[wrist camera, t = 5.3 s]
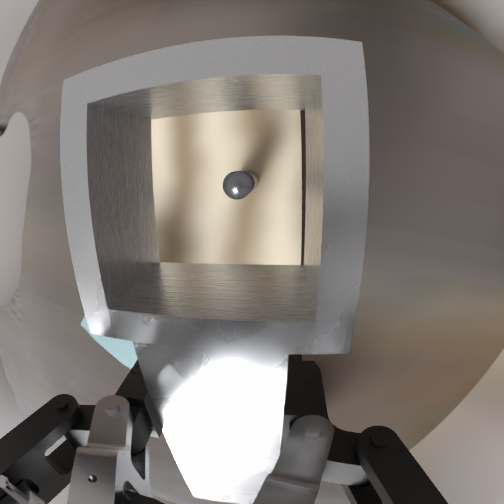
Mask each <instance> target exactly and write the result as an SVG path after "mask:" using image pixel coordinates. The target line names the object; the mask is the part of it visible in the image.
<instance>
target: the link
mask: <svg viewBox="0 0 504 504" xmlns="http://www.w3.org/2000/svg"><path fill="white" fill-rule="evenodd" d="M239 110H305V126H306V216H305V249H304V265H256V264H205V263H165V262H160V258H159V250H158V241H157V231H156V220H155V207H154V193H153V175H152V147H151V120H153V119H160V118H166V117H174V116H181V115H190V114H199V113H210V112H223V111H239ZM60 158H61V179H62V193H63V203H64V212H65V220H66V227H67V234H68V241H69V246H70V252H71V257H72V263H73V267H74V272H75V277H76V281H77V285H78V290H79V294H80V298H81V301H82V305H83V309H84V312H85V316H86V319H87V323H88V326H89V329H90V332H91V334H95V335H100V336H105V337H111V338H116V339H122V340H128V341H133V344H134V348H135V351H136V355H137V358H138V362H139V365H140V368H141V371H142V375H143V378H144V381H145V384H146V387H147V390H148V391H149V394H150V397H151V400H152V402H153V405H154V408H155V411H156V413H157V416H158V419H159V421H160V424H161V426H162V429H163V433H164V435H165V437H166V440H167V442H168V444H169V447H170V449H171V451H172V454H173V456H174V458H175V460H176V462H177V464H178V467H179V469H180V471H181V473H182V475H183V477H184V479H185V481H186V483H187V485H188V487H189V489H190V490H191V492H192V494H193V496H194V497H196V498H201V499H207V500H214V501H221V502H229V503H238V504H253V502H254V500H255V498H256V496H257V494H258V492H259V490H260V489H261V487H262V485H263V482H264V481H265V479H266V477H267V475H268V474H269V473H271V472H272V470H273V469H274V466H275V464H276V462H277V460H278V458H279V455H280V441H281V432H282V422H283V411H284V405H285V396H286V384H287V371H288V357H289V354H343V353H349V350H350V345H351V340H352V335H353V330H354V324H355V318H356V312H357V306H358V300H359V293H360V286H361V278H362V270H363V261H364V252H365V241H366V230H367V215H368V197H369V114H368V96H367V83H366V72H365V62H364V54H363V46H362V42H359V41H352V40H344V39H335V38H324V37H309V36H251V37H235V38H224V39H215V40H207V41H200V42H193V43H187V44H182V45H176V46H171V47H166V48H161V49H157V50H153V51H149V52H144V53H141V54H137V55H133V56H130V57H126V58H123V59H119V60H116V61H113V62H110V63H107V64H104V65H101V66H98V67H95V68H93V69H90V70H87V71H85V72H82V73H79V74H77V75H74V76H72V77H70V78H67V79H65V80H63V90H62V103H61V124H60Z"/></svg>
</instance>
